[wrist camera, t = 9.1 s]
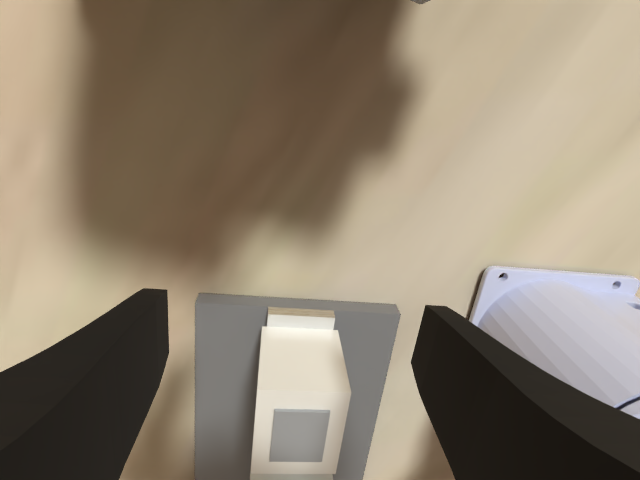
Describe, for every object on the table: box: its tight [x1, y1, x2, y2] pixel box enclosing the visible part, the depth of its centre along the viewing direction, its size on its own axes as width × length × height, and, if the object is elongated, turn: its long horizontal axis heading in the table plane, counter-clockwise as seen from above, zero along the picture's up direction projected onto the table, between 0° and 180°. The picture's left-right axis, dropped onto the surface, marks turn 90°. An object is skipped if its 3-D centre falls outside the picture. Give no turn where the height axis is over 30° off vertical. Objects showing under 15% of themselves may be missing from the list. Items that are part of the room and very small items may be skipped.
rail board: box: [195, 293, 401, 480], centre depth 23 cm, size 11×18×6 cm, turn 173°
